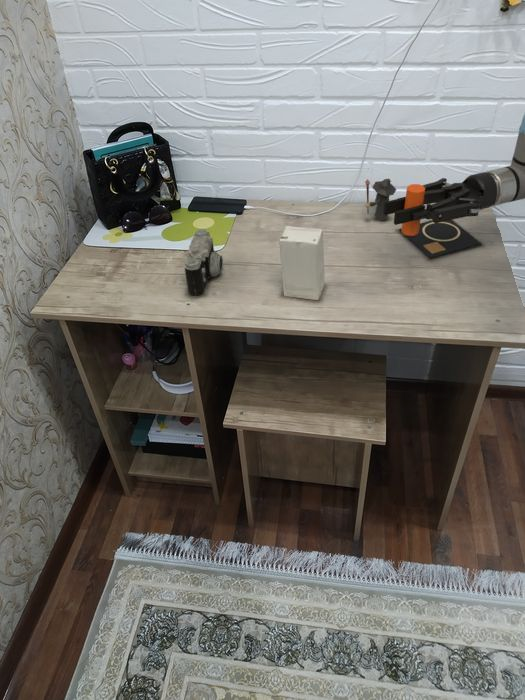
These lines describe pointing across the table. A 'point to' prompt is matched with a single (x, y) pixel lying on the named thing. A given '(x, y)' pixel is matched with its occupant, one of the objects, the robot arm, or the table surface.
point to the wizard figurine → (380, 197)
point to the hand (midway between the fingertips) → (390, 213)
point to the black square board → (442, 238)
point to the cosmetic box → (302, 262)
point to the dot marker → (412, 200)
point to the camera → (201, 263)
